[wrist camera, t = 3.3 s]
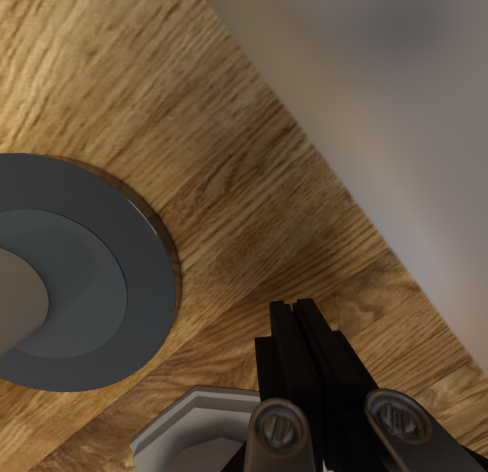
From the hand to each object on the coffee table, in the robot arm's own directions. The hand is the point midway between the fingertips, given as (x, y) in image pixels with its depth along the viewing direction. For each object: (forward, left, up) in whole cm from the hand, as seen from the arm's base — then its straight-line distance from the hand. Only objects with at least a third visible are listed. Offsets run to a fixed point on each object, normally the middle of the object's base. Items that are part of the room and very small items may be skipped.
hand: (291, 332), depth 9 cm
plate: (0, -14, -7) cm, 16 cm away
